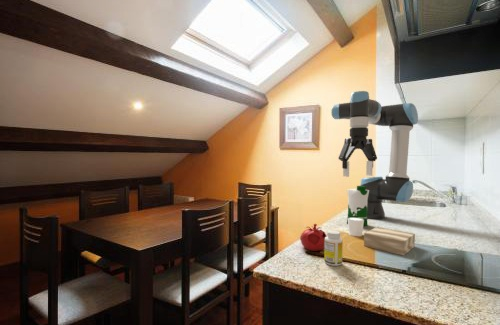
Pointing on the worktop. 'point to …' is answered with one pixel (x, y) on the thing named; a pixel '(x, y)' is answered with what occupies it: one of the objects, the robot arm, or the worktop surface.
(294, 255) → the worktop surface
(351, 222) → the white cup
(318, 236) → the pomegranate
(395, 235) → the wooden base
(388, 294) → the worktop surface
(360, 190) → the milk carton
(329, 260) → the supplement bottle
